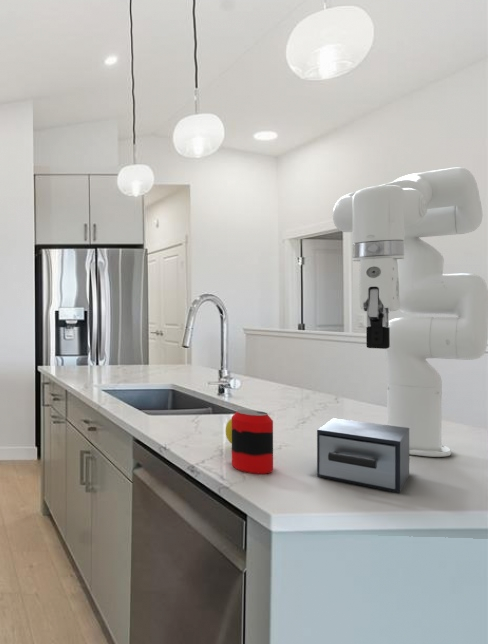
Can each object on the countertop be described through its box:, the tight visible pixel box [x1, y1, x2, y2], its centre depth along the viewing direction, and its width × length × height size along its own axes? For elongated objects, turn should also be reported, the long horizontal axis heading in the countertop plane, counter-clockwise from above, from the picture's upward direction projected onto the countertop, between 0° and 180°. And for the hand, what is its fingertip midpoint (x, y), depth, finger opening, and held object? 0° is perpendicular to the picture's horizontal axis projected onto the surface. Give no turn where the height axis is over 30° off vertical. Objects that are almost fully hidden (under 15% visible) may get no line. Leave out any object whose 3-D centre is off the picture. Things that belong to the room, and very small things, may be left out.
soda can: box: [231, 409, 274, 475], centre depth 107 cm, size 8×8×12 cm
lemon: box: [225, 418, 232, 445], centre depth 122 cm, size 6×6×8 cm
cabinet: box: [316, 417, 410, 494], centre depth 102 cm, size 15×13×10 cm
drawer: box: [319, 435, 396, 489], centre depth 99 cm, size 18×11×8 cm, turn 132°
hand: (377, 347), depth 96 cm, fingers closed
